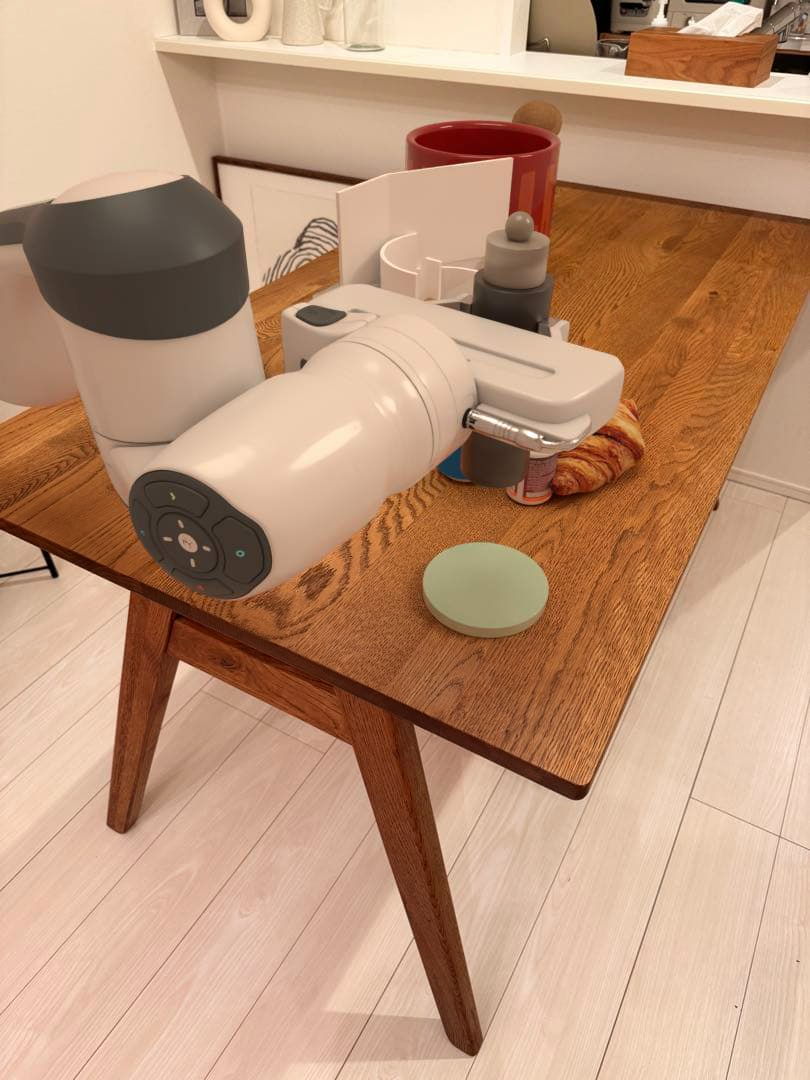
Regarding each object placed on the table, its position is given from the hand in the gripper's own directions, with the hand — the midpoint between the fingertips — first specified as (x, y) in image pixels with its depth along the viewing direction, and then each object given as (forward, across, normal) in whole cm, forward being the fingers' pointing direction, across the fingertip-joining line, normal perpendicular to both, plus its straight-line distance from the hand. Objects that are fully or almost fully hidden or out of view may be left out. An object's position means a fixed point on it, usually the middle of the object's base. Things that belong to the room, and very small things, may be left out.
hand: (515, 317), depth 52 cm
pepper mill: (-1, 0, +12) cm, 12 cm away
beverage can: (+14, +11, +25) cm, 31 cm away
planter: (+64, +40, +25) cm, 79 cm away
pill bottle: (+14, +4, +25) cm, 29 cm away
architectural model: (+30, +26, +25) cm, 48 cm away
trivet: (-1, 0, +25) cm, 25 cm away
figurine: (+94, +46, +25) cm, 108 cm away
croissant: (+24, 0, +25) cm, 35 cm away
